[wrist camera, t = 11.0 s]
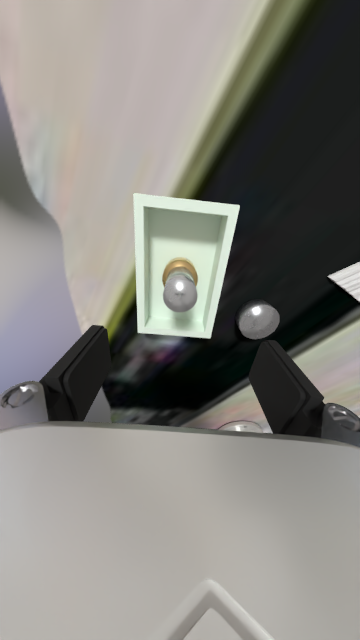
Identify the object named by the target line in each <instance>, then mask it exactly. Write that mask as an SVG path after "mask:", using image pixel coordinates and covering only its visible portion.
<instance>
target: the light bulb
mask: <svg viewBox="0 0 360 640" xmlns="http://www.w3.org/2000/svg"><path fill="white" fill-rule="evenodd" d="M162 282H163V285H164V292H163V300H164V303H165V305H166V306H167V307H168V308H169V309H170V310H172V311H174V312H186V311H188V310H190V309H191V308H193V307H194V305H195V304H196V302H197V297H198V296H197V290H196V286H197V282H198V275H197V272H196V269H195V267H194V265H193V263H192V262H191V261H190V260H188V259H186V258H183V257H177V258H174V259H172V260H170V261H169V262H168V263H167V265H166V267H165V269H164V272H163V276H162Z"/></svg>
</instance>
